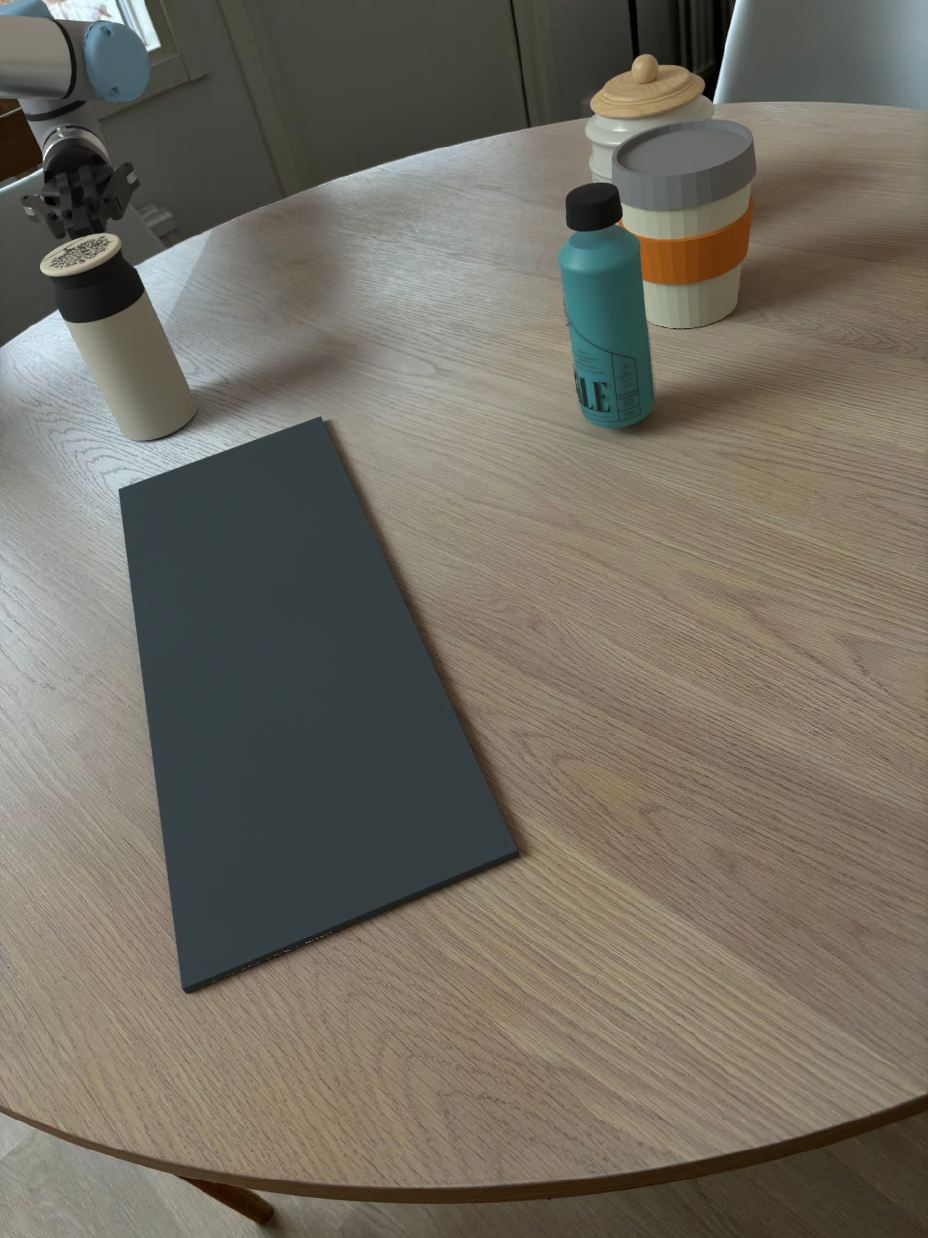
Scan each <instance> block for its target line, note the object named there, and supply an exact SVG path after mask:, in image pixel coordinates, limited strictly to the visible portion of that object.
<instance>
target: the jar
mask: <svg viewBox="0 0 928 1238" xmlns="http://www.w3.org/2000/svg"><path fill="white" fill-rule="evenodd" d="M705 83H706V82H705V80H704V79H703V78H702V77H701V76H700V75H698V74H695V73H693V72H691V71H689V70H688V69H687V68H686V67H683V66H681V65H673V64H659V63H658V60H657V58H656V57H654V55H652V54H648V53H643V54H641V55H638V56H637V57H636V58H635V59H634V61H633V63H632V65H631V70H629V71H625V72H623V73H620V74H618V75H616V76H614V77H612V78H610V79H609V80H608V81H607V82H606V83H605V84H604V86H603V87H602V88H601V89H600V90H598V91H597V92H596V93H595V94H594V96H593V97H591V100H590V104H589V105H590V109H591V110H592V112H593V113H594V114H593V115H592V116H591V117H590V118H589V119H588V121H587V122H586V123H585V127H584V134H585V136H586V137H587V139H588V140H589V141H591V154H590V156H589V158H588V166H589V169H590V172H591V179H592V183H598V182H604V183H610V184H612V155H613V152H614V151H615V149H616V148H617V147H618V146H619V145H620V144H621V143H623V142H624V141H625V140H627V139H629V138H630V137H632V136H634V135H636V134H638V133H641V132H643V131H645V130H648V129H651V128H654V127H657V126H661V125H665V124H669V123H674V122H679V121H687V120H695V119H713V116H714V114H715V104H714V102H712V100H711V99H709V97H706V96H705V95H703V92H704V90H705V88H706V84H705ZM615 225H618V222H617V223H616V224H615Z"/></svg>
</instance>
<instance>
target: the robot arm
mask: <svg viewBox="0 0 928 1238" xmlns="http://www.w3.org/2000/svg"><path fill="white" fill-rule="evenodd" d="M150 75H151V62H150V57H149V53H148V50H147V48H146V45H145V43H144V41H143V40H142V38H141V37H140V35H138V34H137V32H136V31H134V30H133V29H132V28H131V27H129V26H128V25H126V24H123V23H121V22H116V21H110V20H106V19H105V20H104V19H98V20H95V21H91V20H90V21H87V20H74V19H60V18H55V17H54V16H53V15H52V13H51V11H50V9H49V7H48V5H47V4H46V3H45V1H44V0H13V1H10V2H7V3H5V4H2V5H0V99H6V100H8V99H9V100H10V99H11V100H17V101H18V103H19V106H20V107H21V109H22V111H23V115H24V116H25V118H26V121H27V123H28V125H29V127H30V130H31V131H32V133H33V136H34V138H35V140H36V142H37V145H38V146H39V148H40V151H41V153H42V177H43V178H42V179H43V185H44V186H42V188H41V189H40V193H35V194H34V195H31V194H24V195H22V196H21V197H20V198H19V201H20V204H21V205H22V207H23V210H24V211H25V213H26V215H27V217H28V219H29V221H30V222H32V223H37V224H40V225H41V226H42V227H43V228H44V229H45V231H46V232H48V233H49V234H50V235H51V237H53V238H54V239H55V240H62V239H64V238H65V237H66V236H67V237H68V239H69V242H70V241H73V240H75V239H78V238H81V237H85V236H89V235H94V234H102V233H106V232H107V231H108V227H107V225H108V220H109V219H111V220H112V221H113V222H114V221H120V220H122V218H124V216H125V214H126V211H127V208H128V206H129V203H130V201H131V199H132V196H133V193H134V192H135V191H136V190H137V189H138V188H139V187H140V186H141V182H140V180H139V177H138V175H137V172H136V169H135V168H134V166H133V163H132V162H131V161H125V162H123V163H122V164H121V165H119V166H118V167H115V168H114V167H113V166H112V161H111V159H110V154H109V148H108V146H109V145H108V144H109V142H108V139H107V137H106V133H105V131H104V128H103V127H102V124H101V123H100V122H99V121H98V120H97V117H96V115H95V113H94V111H93V108H92V106H91V104H90V102H105V103H109V104H110V103H111V104H117V103H121V102H130V101H134V100H136V99H137V98H138V97H140V96H141V95H142V94H143V93H144V91H145V90H146V88H147V86H148V84H149V81H150ZM89 101H90V102H89ZM55 210H60V213H61V214H59V215H57V213H56V211H55Z"/></svg>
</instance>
